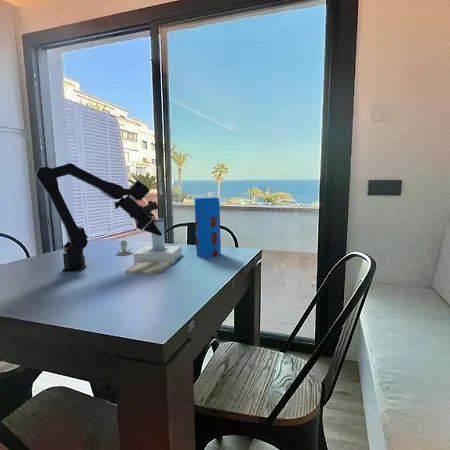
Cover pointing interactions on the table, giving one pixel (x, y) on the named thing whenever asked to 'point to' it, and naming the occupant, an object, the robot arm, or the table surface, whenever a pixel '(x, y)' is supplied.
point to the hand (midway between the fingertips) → (161, 234)
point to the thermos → (207, 227)
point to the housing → (158, 254)
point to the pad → (148, 267)
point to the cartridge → (157, 240)
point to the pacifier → (123, 249)
